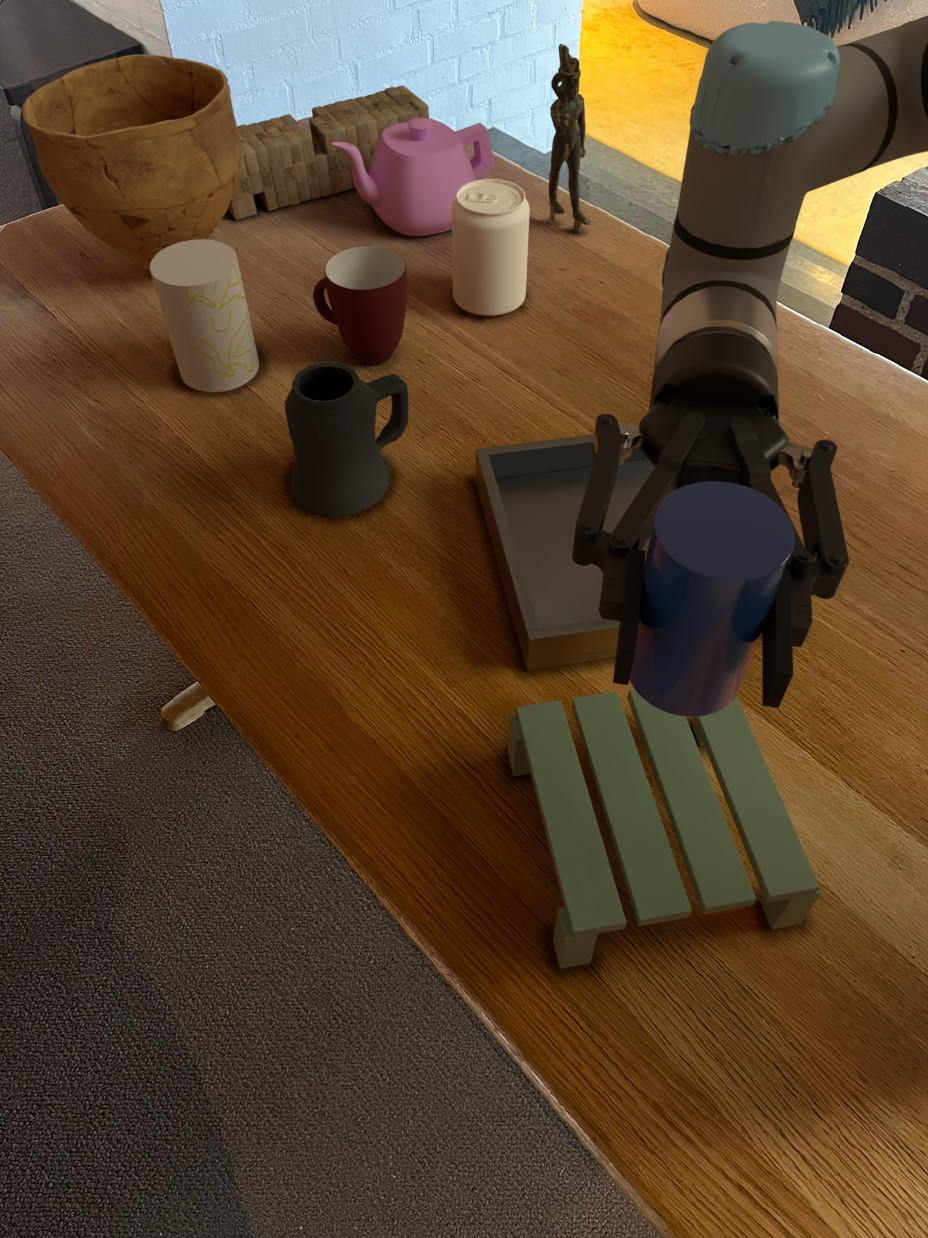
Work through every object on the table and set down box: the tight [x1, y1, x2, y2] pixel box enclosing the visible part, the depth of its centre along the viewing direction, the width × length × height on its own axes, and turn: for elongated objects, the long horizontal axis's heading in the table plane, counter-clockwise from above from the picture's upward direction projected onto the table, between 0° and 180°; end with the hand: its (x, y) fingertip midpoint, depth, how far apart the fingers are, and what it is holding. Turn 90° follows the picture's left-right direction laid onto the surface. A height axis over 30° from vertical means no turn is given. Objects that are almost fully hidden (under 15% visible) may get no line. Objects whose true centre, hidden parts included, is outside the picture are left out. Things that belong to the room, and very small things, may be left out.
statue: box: [548, 43, 592, 234], centre depth 109 cm, size 5×6×20 cm
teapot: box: [332, 118, 496, 237], centre depth 115 cm, size 13×20×11 cm
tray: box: [475, 433, 762, 672], centre depth 81 cm, size 22×22×4 cm
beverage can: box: [451, 178, 531, 317], centre depth 103 cm, size 8×8×12 cm
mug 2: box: [284, 361, 410, 517], centre depth 85 cm, size 12×9×11 cm
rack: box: [507, 688, 822, 970], centre depth 64 cm, size 16×16×6 cm
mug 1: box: [312, 245, 409, 366], centre depth 98 cm, size 10×8×10 cm
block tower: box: [226, 84, 430, 221], centre depth 122 cm, size 8×8×29 cm
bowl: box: [21, 54, 241, 271], centre depth 104 cm, size 21×20×20 cm
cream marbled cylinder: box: [149, 239, 260, 393], centre depth 95 cm, size 8×8×12 cm
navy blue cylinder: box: [629, 481, 795, 718], centre depth 48 cm, size 6×6×11 cm
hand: (699, 678), depth 45 cm, fingers closed on navy blue cylinder, 6 cm apart
